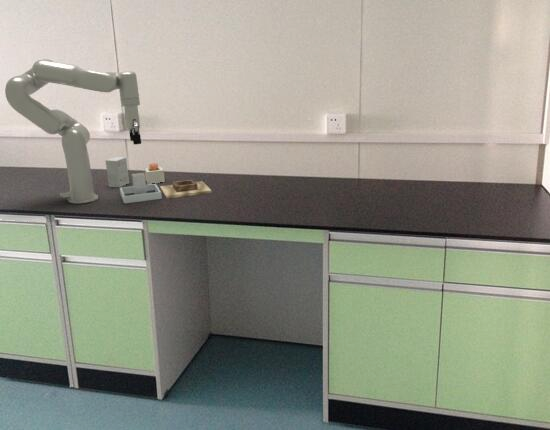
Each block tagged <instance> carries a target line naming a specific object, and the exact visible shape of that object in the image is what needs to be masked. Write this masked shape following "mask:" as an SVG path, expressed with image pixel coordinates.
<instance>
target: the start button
mask: <svg viewBox="0 0 550 430" xmlns="http://www.w3.org/2000/svg"><path fill="white" fill-rule="evenodd" d="M158 167H159V164H158V163H155V162H154V163H149V167H148V168H150V171H155V170H158Z"/></svg>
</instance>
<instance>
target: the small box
mask: <svg viewBox="0 0 550 430" xmlns="http://www.w3.org/2000/svg"><path fill="white" fill-rule="evenodd" d="M104 161H105V168H106V173H107V181H108V187H109V188H118V187H119V189H120V188H122V187H125V186H127V185H129V184H130V178H129V170H128V168H129V167H128V161H127V157H126V156H125V157H124V156H114V157H111V158H108V159H105V160H104ZM126 184H127V185H126Z"/></svg>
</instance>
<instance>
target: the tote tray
mask: <svg viewBox="0 0 550 430" xmlns="http://www.w3.org/2000/svg"><path fill="white" fill-rule="evenodd" d="M146 190H147V193H146V194H138V195H134V188H133V185H132V186H122V187H120V188H119V193H120V197H121V199H122V202H123V204H124V203H125V204H132V203H139V202H140V203H141V202H149V201H154V200H155V201H156V200H161V199H162V198H163V197H162V191H161V189H160V187H159V186H158V184H157V183H155V184H148V183H147V184H146ZM153 191H154V192H153ZM148 192H149V193H148ZM128 194H130V195H128ZM131 194H132V195H131Z"/></svg>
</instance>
